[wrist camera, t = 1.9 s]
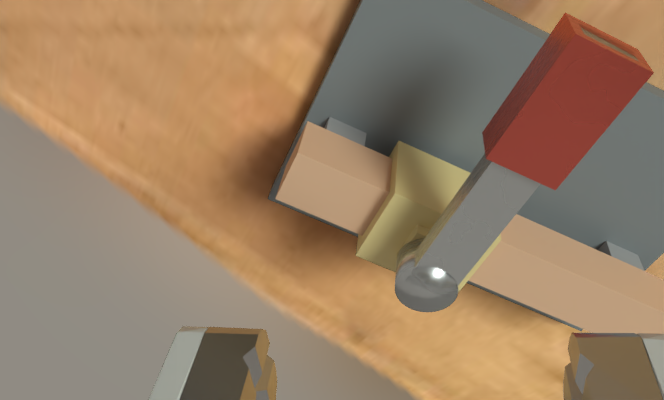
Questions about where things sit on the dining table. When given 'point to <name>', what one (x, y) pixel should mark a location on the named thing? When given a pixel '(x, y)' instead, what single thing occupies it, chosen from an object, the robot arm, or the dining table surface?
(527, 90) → the lever
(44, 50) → the dining table surface
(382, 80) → the board
